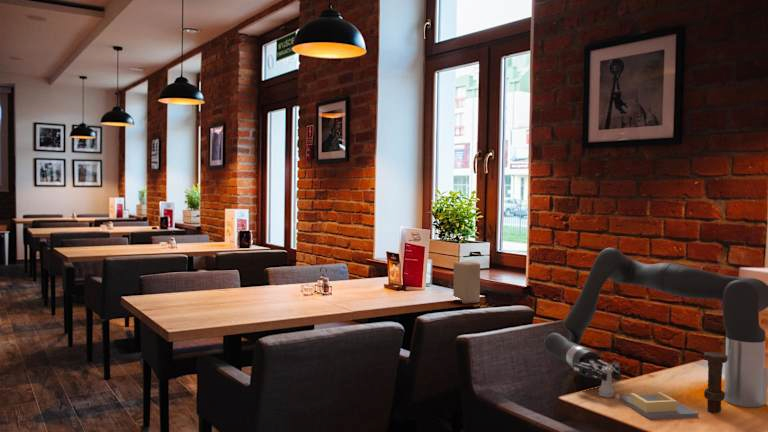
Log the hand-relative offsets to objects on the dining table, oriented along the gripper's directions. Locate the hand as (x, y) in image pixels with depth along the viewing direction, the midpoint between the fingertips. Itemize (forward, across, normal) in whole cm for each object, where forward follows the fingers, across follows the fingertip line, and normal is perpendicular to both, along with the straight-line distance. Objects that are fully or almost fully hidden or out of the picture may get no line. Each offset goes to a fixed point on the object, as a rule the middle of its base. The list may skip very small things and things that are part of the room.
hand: (612, 376), depth 176 cm
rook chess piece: (-3, 0, +6) cm, 7 cm away
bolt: (+13, +21, +6) cm, 26 cm away
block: (-153, +3, +6) cm, 153 cm away
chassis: (+9, +8, +6) cm, 13 cm away
